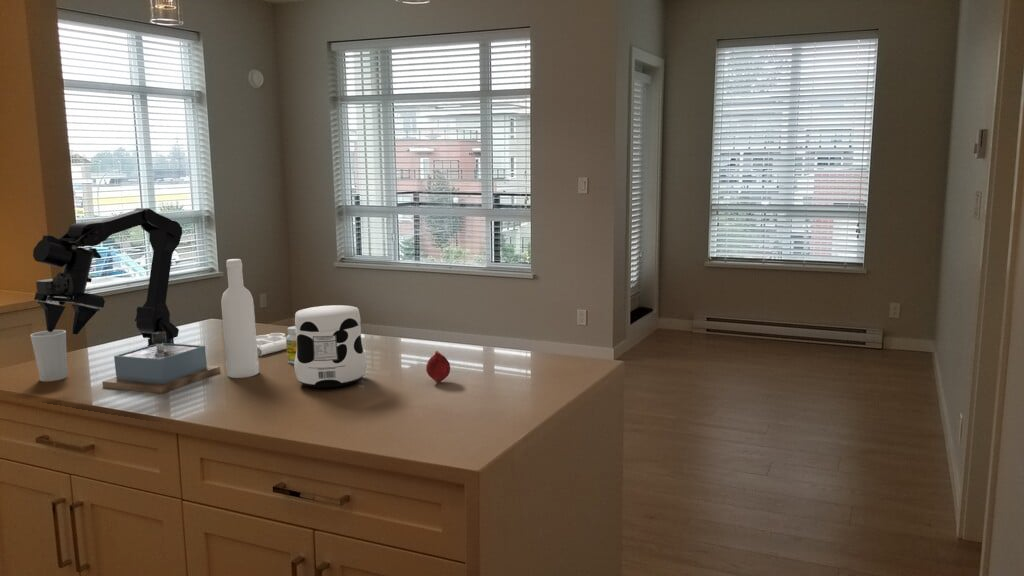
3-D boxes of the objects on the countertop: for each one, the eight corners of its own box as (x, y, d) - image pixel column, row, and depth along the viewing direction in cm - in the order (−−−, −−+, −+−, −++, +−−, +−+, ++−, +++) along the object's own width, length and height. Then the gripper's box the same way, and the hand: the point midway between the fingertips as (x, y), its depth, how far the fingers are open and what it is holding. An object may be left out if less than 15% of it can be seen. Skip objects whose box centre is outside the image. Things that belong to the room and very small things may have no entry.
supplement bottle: (311, 359, 218) (309, 325, 216) (301, 364, 213) (298, 329, 211) (294, 358, 220) (292, 324, 218) (283, 363, 215) (281, 329, 213)
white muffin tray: (253, 360, 220) (220, 354, 228) (303, 347, 235) (271, 341, 243) (252, 349, 220) (219, 343, 228) (302, 336, 234) (270, 331, 242)
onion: (454, 380, 194) (453, 348, 193) (445, 386, 189) (443, 354, 187) (433, 378, 196) (431, 347, 195) (423, 385, 190) (421, 352, 189)
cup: (55, 382, 201) (49, 336, 199) (28, 381, 203) (22, 336, 201) (78, 374, 209) (72, 330, 207) (52, 373, 210) (46, 329, 209)
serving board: (164, 366, 214) (163, 361, 214) (220, 371, 207) (219, 366, 207) (102, 387, 196) (102, 381, 196) (162, 393, 189) (161, 387, 189)
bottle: (221, 374, 205) (211, 260, 200) (249, 368, 210) (240, 256, 205) (237, 380, 199) (226, 262, 194) (265, 373, 205) (256, 259, 200)
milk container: (342, 369, 207) (338, 301, 204) (381, 381, 195) (377, 309, 192) (282, 383, 195) (277, 312, 192) (319, 397, 183) (314, 321, 180)
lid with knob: (160, 346, 208) (158, 326, 208) (198, 349, 204) (196, 329, 203) (121, 358, 197) (119, 336, 196) (160, 361, 192) (158, 339, 192)
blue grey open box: (156, 363, 212) (153, 342, 211) (207, 368, 206) (204, 345, 205) (109, 378, 198) (107, 355, 197) (163, 384, 192) (160, 360, 191)
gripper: (21, 262, 194) (6, 325, 192) (72, 265, 187) (57, 330, 184) (62, 273, 204) (48, 332, 202) (112, 275, 197) (98, 337, 194)
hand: (62, 333), depth 195 cm, fingers open, 9 cm apart
